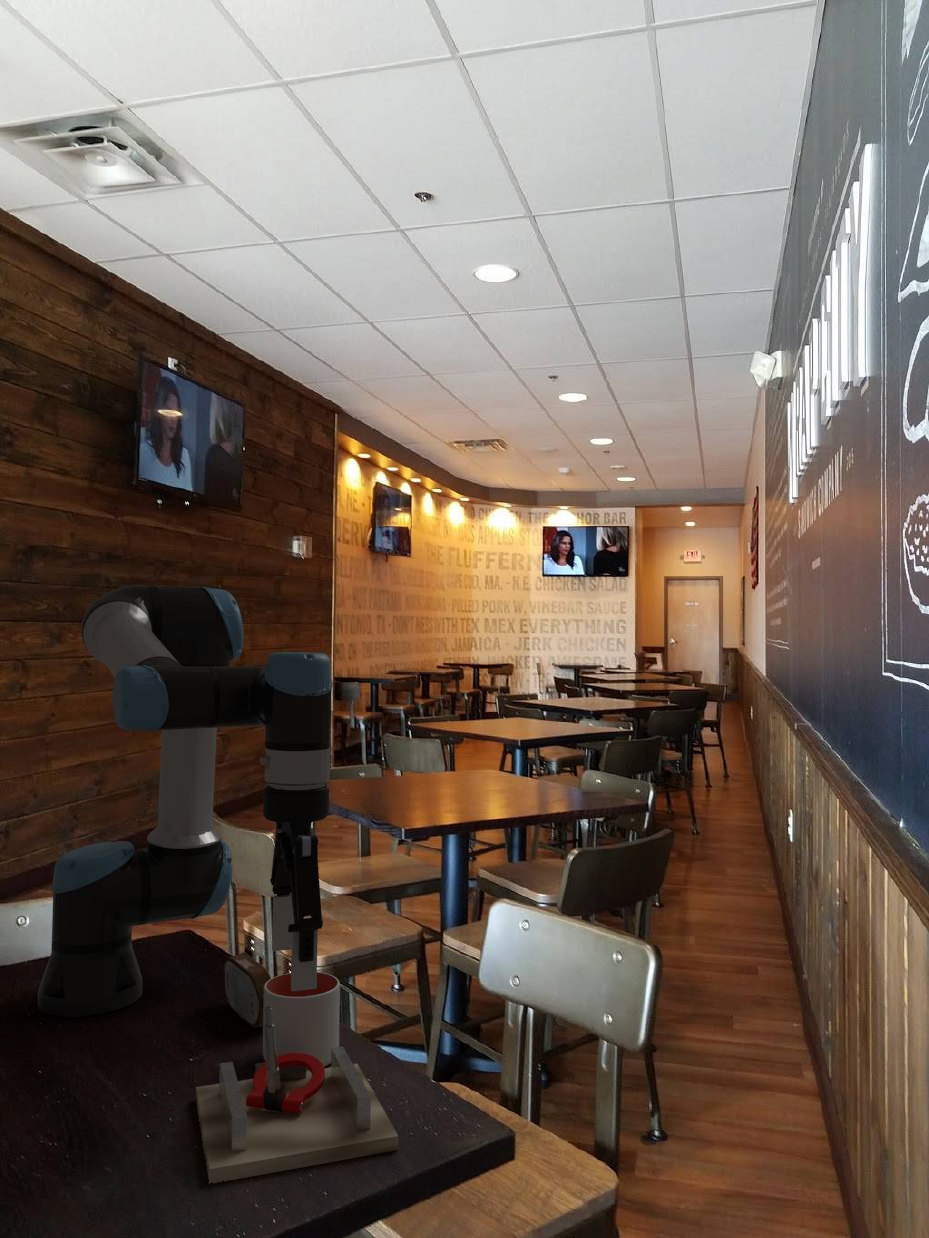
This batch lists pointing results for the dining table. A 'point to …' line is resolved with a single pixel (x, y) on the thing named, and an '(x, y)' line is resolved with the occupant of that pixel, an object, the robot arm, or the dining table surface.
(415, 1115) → the dining table surface
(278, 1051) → the cup
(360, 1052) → the dining table surface
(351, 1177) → the dining table surface
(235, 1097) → the keeper rails
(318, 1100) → the keeper board
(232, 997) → the tin
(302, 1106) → the tow hook
